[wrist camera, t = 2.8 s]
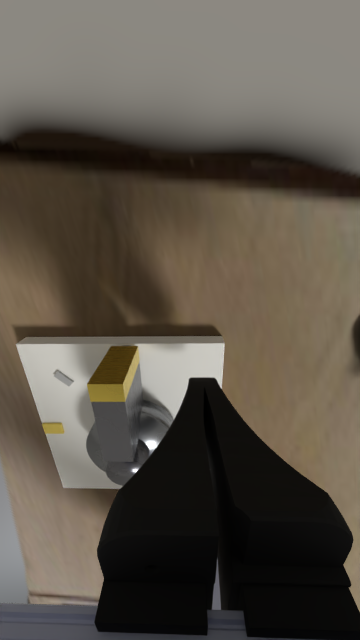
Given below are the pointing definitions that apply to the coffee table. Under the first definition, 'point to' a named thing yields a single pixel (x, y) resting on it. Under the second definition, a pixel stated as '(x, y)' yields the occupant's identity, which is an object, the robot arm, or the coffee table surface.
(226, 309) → the coffee table surface
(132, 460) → the dial
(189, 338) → the dial plate
